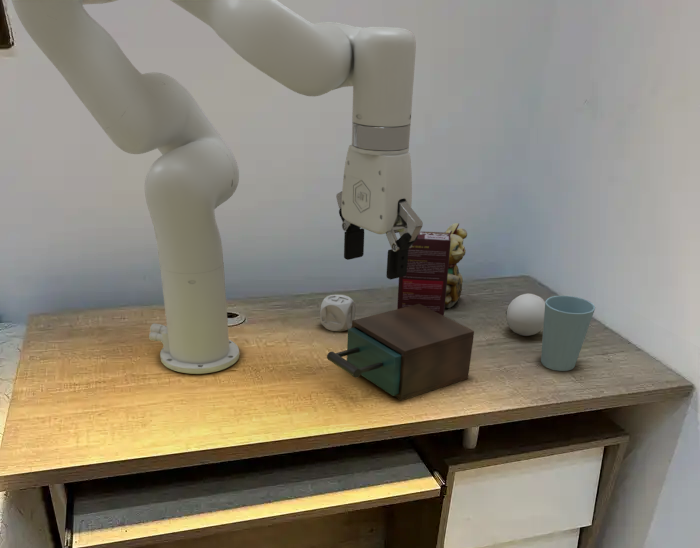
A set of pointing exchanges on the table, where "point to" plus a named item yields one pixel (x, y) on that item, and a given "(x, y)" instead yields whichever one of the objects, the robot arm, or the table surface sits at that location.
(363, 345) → the teal pull-out drawer
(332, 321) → the die
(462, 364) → the cabinet
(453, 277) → the decorative figurine
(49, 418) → the table surface
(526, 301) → the white ball
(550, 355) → the cup
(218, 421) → the table surface
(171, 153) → the robot arm
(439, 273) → the supplement box
